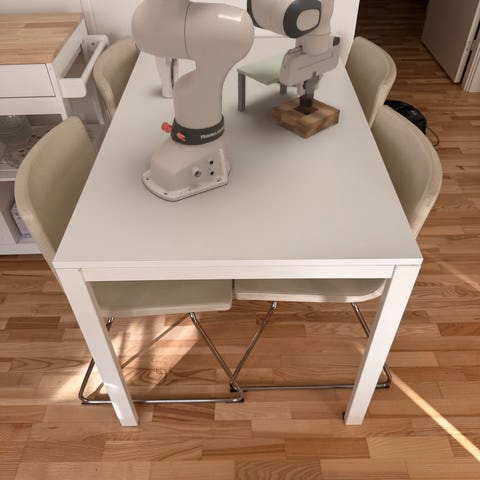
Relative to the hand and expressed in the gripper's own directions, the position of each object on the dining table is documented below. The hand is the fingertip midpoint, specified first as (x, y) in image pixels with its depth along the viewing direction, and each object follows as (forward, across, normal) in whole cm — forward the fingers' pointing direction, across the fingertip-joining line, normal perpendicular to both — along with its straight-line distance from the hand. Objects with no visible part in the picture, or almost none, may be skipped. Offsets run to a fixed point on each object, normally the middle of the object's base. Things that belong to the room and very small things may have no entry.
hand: (307, 92), depth 129 cm
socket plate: (+9, 0, 0) cm, 9 cm away
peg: (+4, 0, 0) cm, 4 cm away
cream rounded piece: (+10, -19, +42) cm, 47 cm away
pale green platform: (+9, 0, +12) cm, 15 cm away
